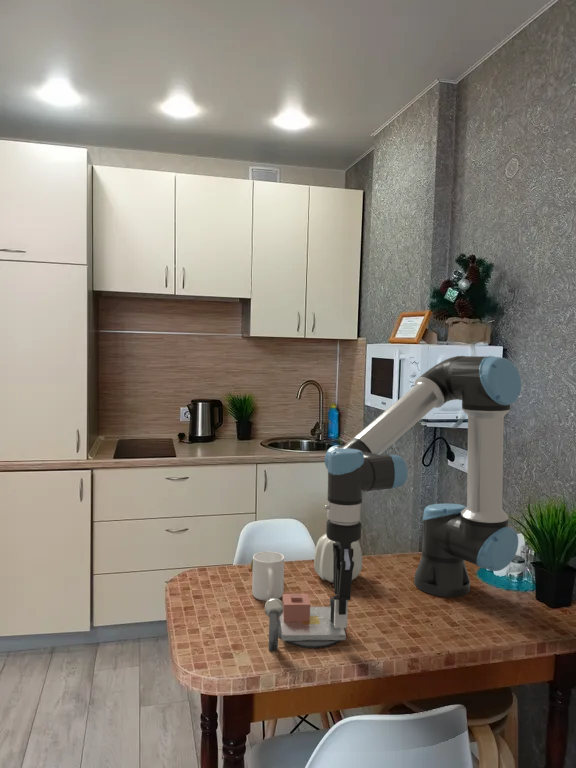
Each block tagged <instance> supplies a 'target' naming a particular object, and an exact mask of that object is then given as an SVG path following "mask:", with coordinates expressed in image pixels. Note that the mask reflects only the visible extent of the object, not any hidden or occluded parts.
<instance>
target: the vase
mask: <svg viewBox="0 0 576 768" xmlns="http://www.w3.org/2000/svg"><path fill="white" fill-rule="evenodd" d="M333 543H335V541H332V540H330V539H328V538H327V536H326V533H324V534H323V535H322V536H320V537H319V539H318V540H317V542H316V546H315V551H314V555H313V556H314V558H313V559H314V561H313V562H314V567H313V568H314V571H315V573H316V574H317V575H318V577H320V579H321V580H323V581H328V582H329V583H332V584H333V546H332V545H333ZM351 548H353V557H352V561H354V567H353V573H352V581H354V580H355V579H356V578H357V577H358V576H359V574H360V573H361V572H362V569H363V554H362V548H361V544H360V542H359V540H358V541H356V542H352V543H351Z"/></svg>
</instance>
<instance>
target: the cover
mask: <svg viewBox="0 0 576 768" xmlns="http://www.w3.org/2000/svg"><path fill="white" fill-rule="evenodd" d="M281 599H282V600H281V602H282V604H283V620H284V622H310V607H311V602H310V599H309V595H308V593H283V594H282V597H281Z"/></svg>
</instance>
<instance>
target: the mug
mask: <svg viewBox="0 0 576 768" xmlns="http://www.w3.org/2000/svg"><path fill="white" fill-rule="evenodd" d="M252 559H253V573H252V580H251V581H252V585H251V586H252V587H251V588H252V591H251V592H252V595H253V597H254V598H255V599H257V600H260V601H265V602H267V601H268V600H269V599H271V598H277V599H279V600H280V599H282V594H284V583H285V581H284V580H285V579H284V578H285V556H284V554H282V553H280V552H276V551H261V552H256V553H255V554H253V555H252Z"/></svg>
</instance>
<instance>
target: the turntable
mask: <svg viewBox="0 0 576 768" xmlns="http://www.w3.org/2000/svg"><path fill="white" fill-rule="evenodd" d="M334 605H335V600H334V599H333V597H329V606H310V622H284V620H283V613H282V614H281V616H279V619H280V627H281V635H282V640H281V641H283V642H284V641H301V640H341V641H346V639H347V638H346V637H347V635H346V630H345V631H344V628H335V627H334Z"/></svg>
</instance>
